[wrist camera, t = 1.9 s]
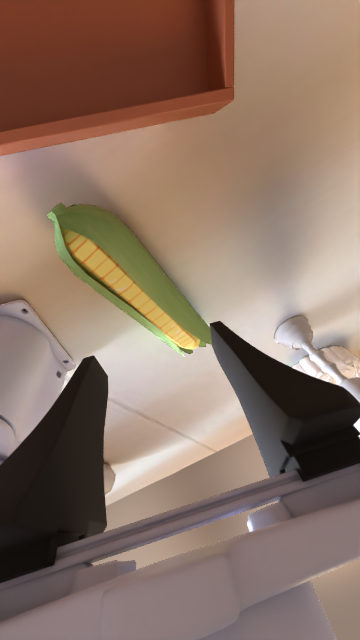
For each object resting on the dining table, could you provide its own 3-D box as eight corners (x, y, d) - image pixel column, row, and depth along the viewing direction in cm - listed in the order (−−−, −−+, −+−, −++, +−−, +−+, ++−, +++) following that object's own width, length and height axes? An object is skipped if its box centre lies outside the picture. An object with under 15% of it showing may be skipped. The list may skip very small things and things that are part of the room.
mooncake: (357, 336, 32) (379, 352, 29) (335, 378, 40) (351, 394, 37) (288, 357, 32) (304, 375, 29) (279, 396, 39) (291, 413, 36)
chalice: (324, 320, 28) (523, 470, 14) (288, 353, 31) (423, 504, 17) (294, 302, 25) (515, 476, 11) (257, 341, 28) (393, 516, 14)
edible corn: (89, 177, 14) (76, 179, 10) (221, 333, 25) (237, 360, 22) (41, 228, 15) (13, 246, 11) (189, 354, 26) (198, 383, 23)
